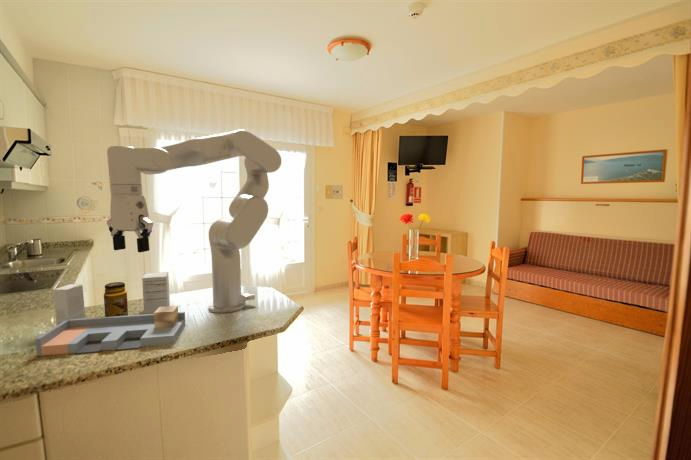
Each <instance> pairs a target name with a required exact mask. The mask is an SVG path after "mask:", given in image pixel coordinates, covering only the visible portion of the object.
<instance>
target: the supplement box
mask: <svg viewBox="0 0 691 460" xmlns="http://www.w3.org/2000/svg"><path fill="white" fill-rule="evenodd" d="M141 278H142V279H141V281H142V283H141V284H142V299H143V300H142V301H143V312H144V313H143V315H144V314H154V312H155V311H156V310H157V309H158V308H159V307H166V306H171V303H170V302H171V299H170V283H169V281H170V280H169V279H170V278H169V272H168V271H161V272H148V273H145V274H144V275H143V276H142V277H141Z"/></svg>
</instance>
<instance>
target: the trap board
mask: <svg viewBox="0 0 691 460" xmlns="http://www.w3.org/2000/svg"><path fill="white" fill-rule="evenodd" d="M185 327H186V312H185V311H178V322H177V323H176V325H175V326H174V327H163V328H155V324H154V314H144V313H143V314H131V315H129V316H113V317H105V316H104V317H103V316H101V317H88V318H87V317H85V318H83V319H68V320H65V321H63V322H62V323H60V324H59V325H55V326H54V327H52V328H50V329H49V330H48V331H46V332H44V333H43V334H41V335H39V336H38V337H36V338H35V348H36V357H39V356H40V357H41V356H42V357H43V356H50V355H52V356H53V355H63V354H74V355H84V354H93V353H101V352H102V351H110V350H115V352H118V351H128V350H139V349H141V348H143V347H154V346H155V347H156V346H165V345H166V346H167V345H175V343H176V342H177V340H178V338H179V337H180V335H181V333H182V332H183V330H184V329H185Z"/></svg>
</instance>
